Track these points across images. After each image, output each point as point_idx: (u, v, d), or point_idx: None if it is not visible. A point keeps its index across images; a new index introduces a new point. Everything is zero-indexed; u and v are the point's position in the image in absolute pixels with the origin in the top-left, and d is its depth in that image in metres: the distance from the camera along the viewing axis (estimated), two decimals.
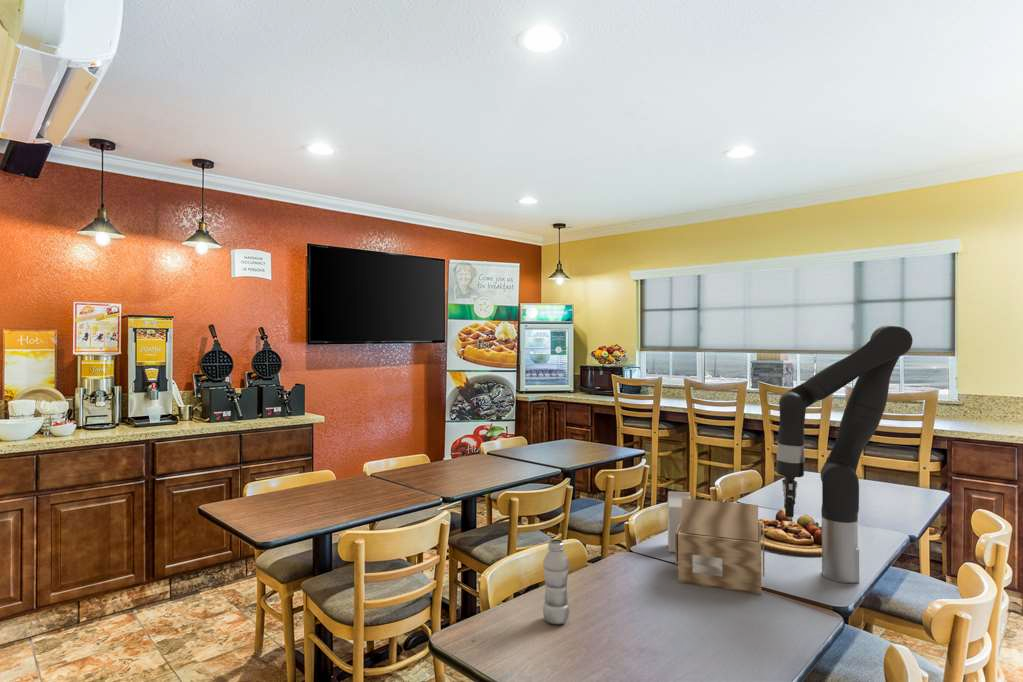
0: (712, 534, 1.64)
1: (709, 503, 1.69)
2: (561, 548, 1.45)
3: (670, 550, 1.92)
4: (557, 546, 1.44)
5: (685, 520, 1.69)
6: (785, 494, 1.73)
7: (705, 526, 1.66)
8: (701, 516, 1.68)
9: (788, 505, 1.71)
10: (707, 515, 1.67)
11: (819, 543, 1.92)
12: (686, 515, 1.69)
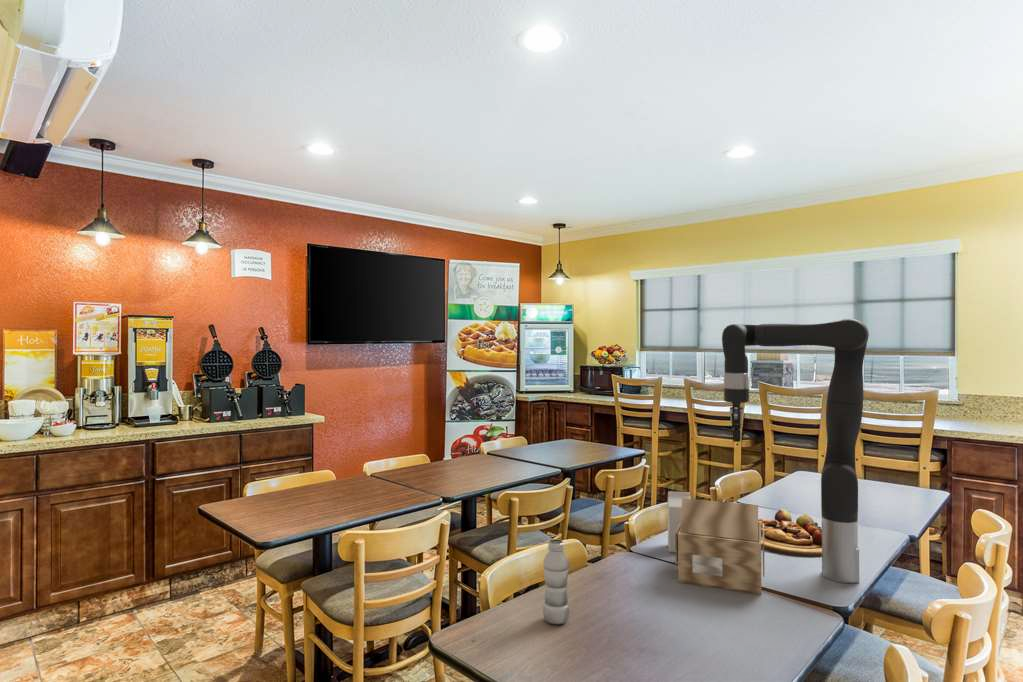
0: (712, 534, 1.64)
1: (709, 503, 1.69)
2: (561, 548, 1.45)
3: (670, 550, 1.92)
4: (557, 546, 1.44)
5: (685, 520, 1.69)
6: (732, 421, 1.86)
7: (705, 526, 1.66)
8: (701, 516, 1.68)
9: (735, 430, 1.85)
10: (707, 515, 1.67)
11: (818, 543, 1.92)
12: (686, 515, 1.69)
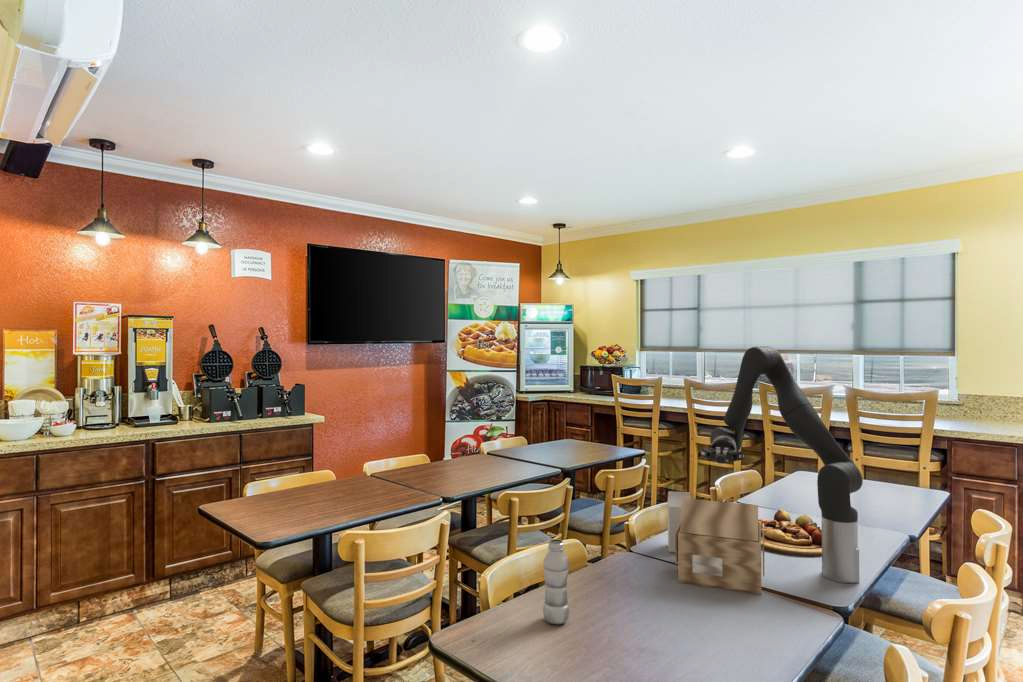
0: (712, 534, 1.64)
1: (709, 503, 1.69)
2: (561, 548, 1.45)
3: (670, 550, 1.92)
4: (557, 546, 1.44)
5: (685, 520, 1.69)
6: None
7: (705, 526, 1.66)
8: (701, 516, 1.68)
9: (716, 458, 1.77)
10: (707, 515, 1.67)
11: (817, 543, 1.92)
12: (686, 515, 1.69)
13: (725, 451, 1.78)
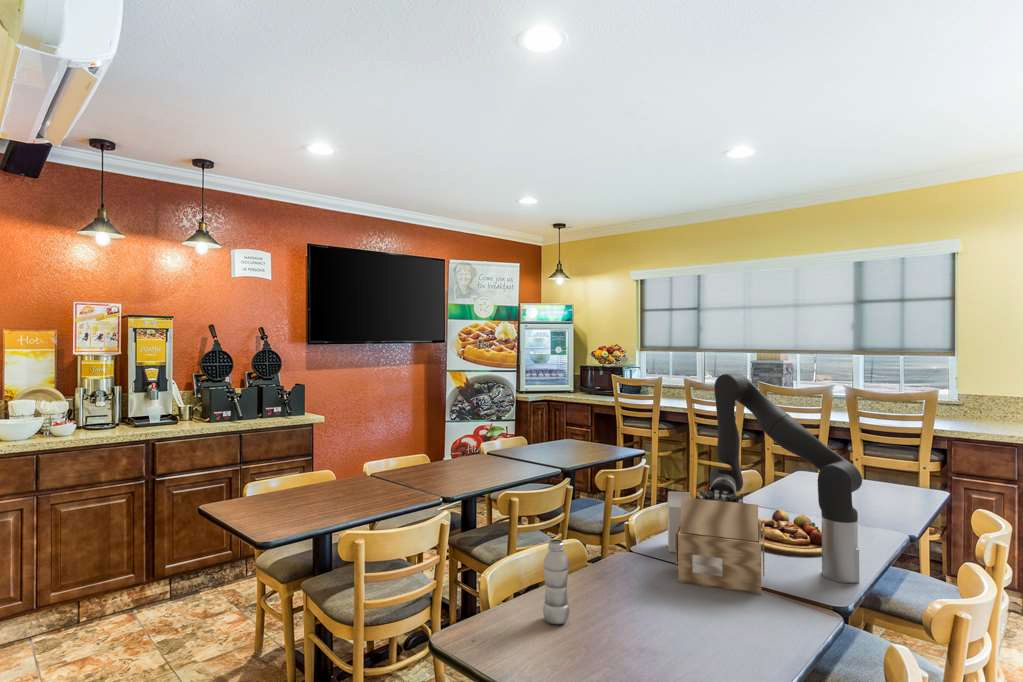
0: (712, 534, 1.64)
1: (708, 502, 1.68)
2: (561, 548, 1.45)
3: (670, 550, 1.92)
4: (557, 546, 1.44)
5: (685, 519, 1.68)
6: None
7: (705, 526, 1.66)
8: (701, 516, 1.67)
9: None
10: (706, 514, 1.67)
11: (815, 543, 1.92)
12: (686, 515, 1.69)
13: (724, 496, 1.73)
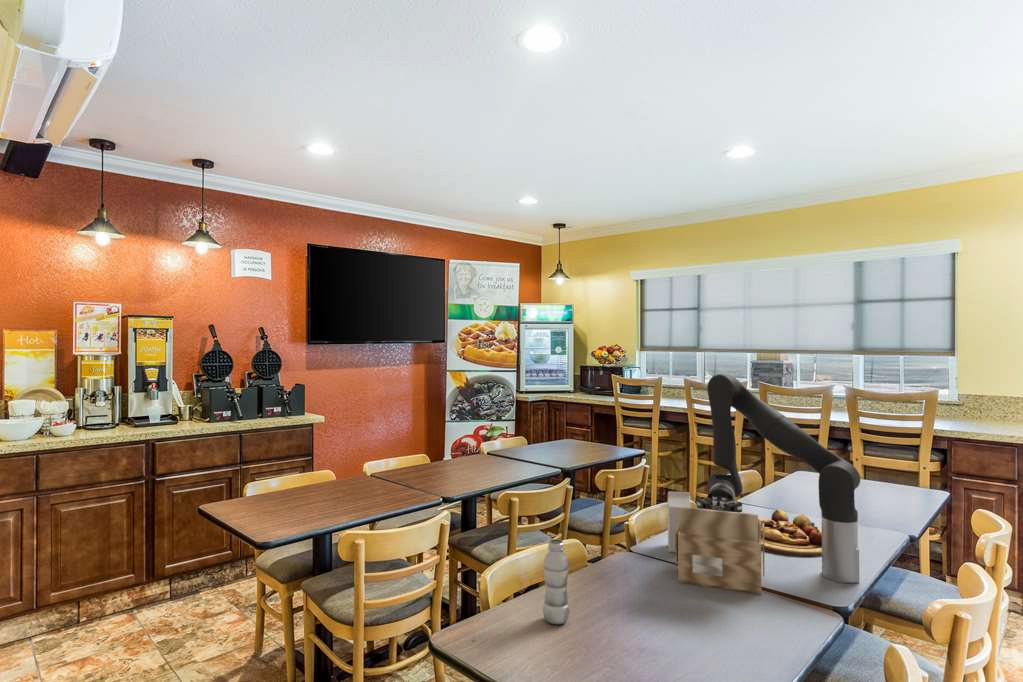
0: (712, 536, 1.64)
1: (706, 512, 1.60)
2: (561, 548, 1.45)
3: (670, 550, 1.92)
4: (557, 546, 1.44)
5: (683, 524, 1.65)
6: None
7: (704, 530, 1.64)
8: (699, 522, 1.63)
9: None
10: (705, 521, 1.62)
11: (815, 543, 1.92)
12: (684, 521, 1.64)
13: (722, 502, 1.65)
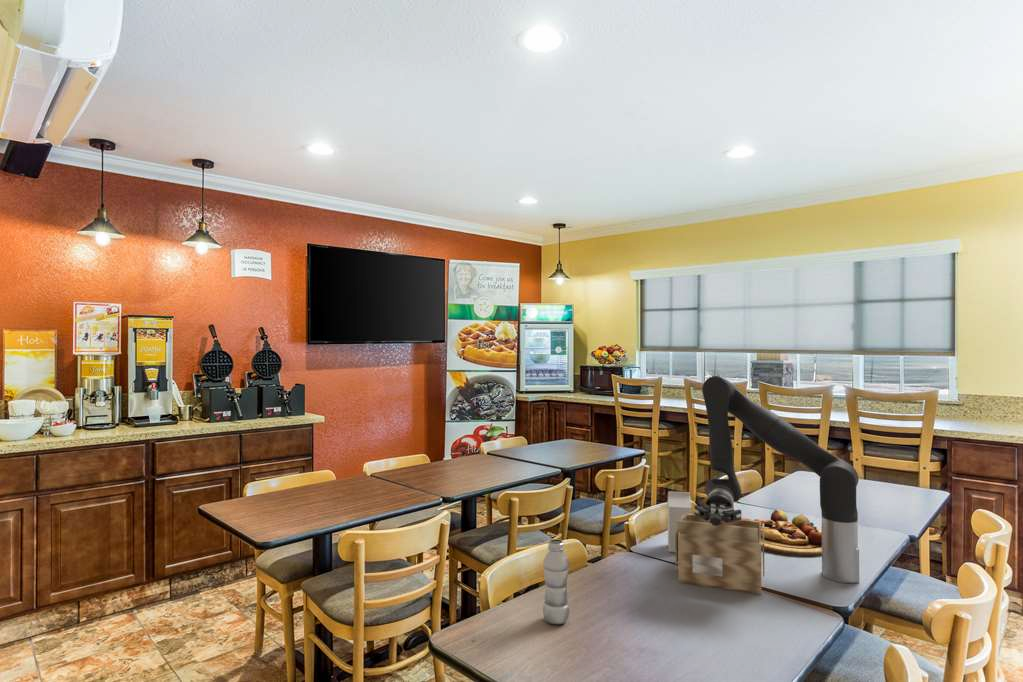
0: (712, 537, 1.63)
1: (705, 525, 1.57)
2: (561, 548, 1.45)
3: (670, 550, 1.92)
4: (557, 546, 1.44)
5: (683, 529, 1.64)
6: None
7: (704, 533, 1.63)
8: (698, 529, 1.61)
9: (710, 518, 1.58)
10: (704, 529, 1.60)
11: (814, 543, 1.92)
12: (683, 528, 1.63)
13: (721, 510, 1.59)
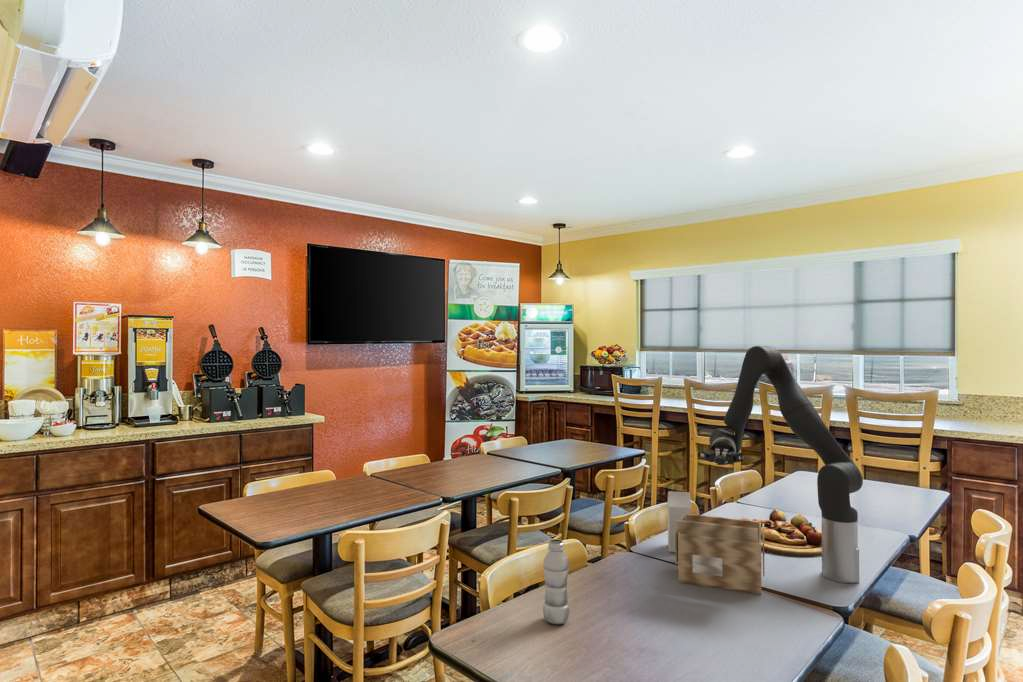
0: (712, 537, 1.63)
1: (705, 525, 1.57)
2: (561, 548, 1.45)
3: (670, 550, 1.92)
4: (557, 546, 1.44)
5: (683, 529, 1.64)
6: None
7: (704, 533, 1.63)
8: (698, 529, 1.61)
9: (715, 460, 1.75)
10: (704, 529, 1.60)
11: (812, 543, 1.92)
12: (683, 528, 1.63)
13: (724, 453, 1.76)
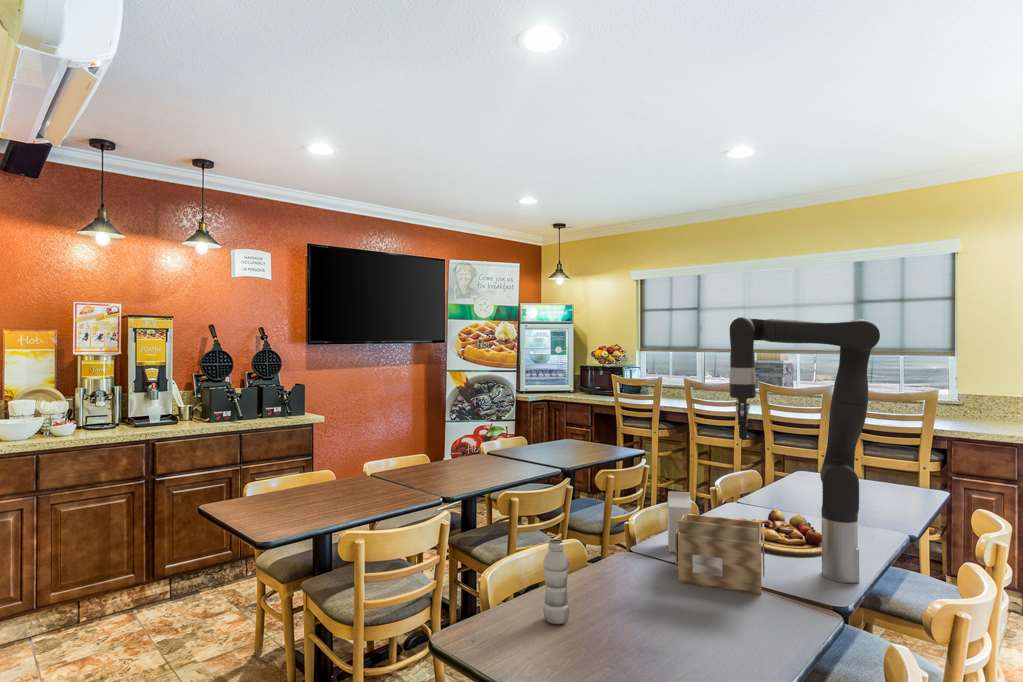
0: (712, 537, 1.63)
1: (705, 525, 1.57)
2: (561, 548, 1.45)
3: (670, 550, 1.92)
4: (557, 546, 1.44)
5: (683, 529, 1.64)
6: (738, 418, 1.80)
7: (704, 533, 1.63)
8: (698, 529, 1.61)
9: (741, 427, 1.79)
10: (704, 529, 1.60)
11: (811, 543, 1.92)
12: (683, 528, 1.63)
13: None
